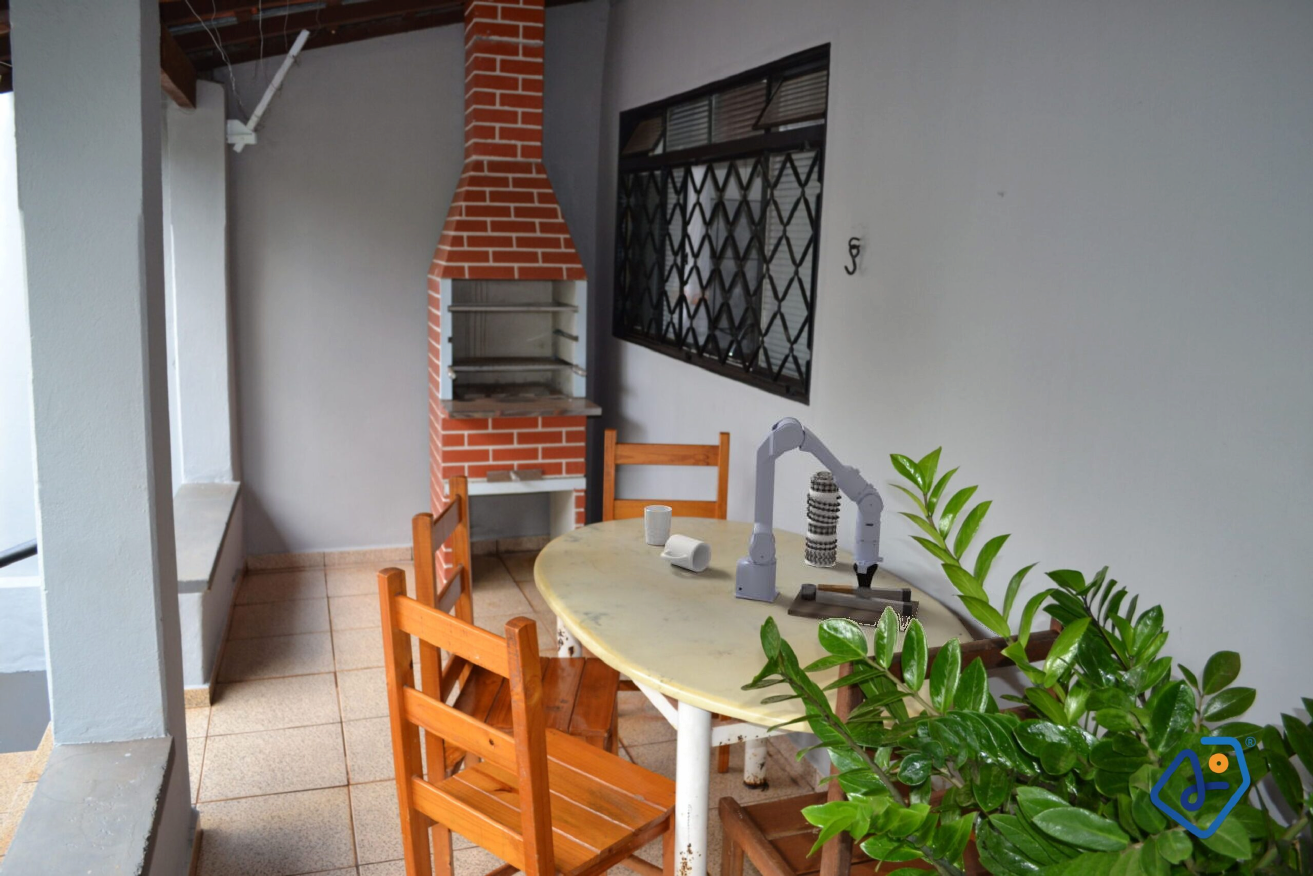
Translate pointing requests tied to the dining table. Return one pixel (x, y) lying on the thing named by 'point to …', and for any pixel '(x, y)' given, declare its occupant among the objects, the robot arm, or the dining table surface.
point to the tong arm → (858, 591)
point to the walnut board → (841, 611)
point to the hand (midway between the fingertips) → (864, 593)
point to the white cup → (657, 524)
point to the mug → (687, 553)
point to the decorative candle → (822, 520)
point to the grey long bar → (863, 602)
